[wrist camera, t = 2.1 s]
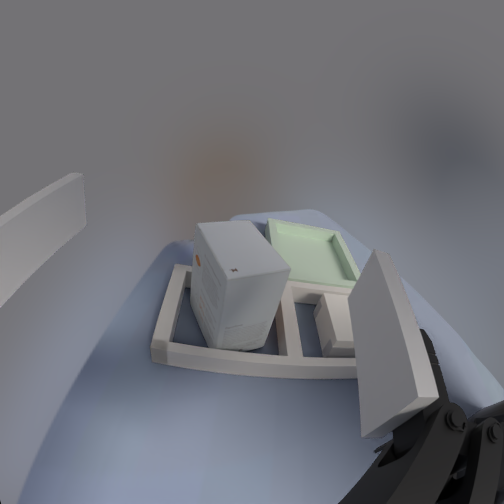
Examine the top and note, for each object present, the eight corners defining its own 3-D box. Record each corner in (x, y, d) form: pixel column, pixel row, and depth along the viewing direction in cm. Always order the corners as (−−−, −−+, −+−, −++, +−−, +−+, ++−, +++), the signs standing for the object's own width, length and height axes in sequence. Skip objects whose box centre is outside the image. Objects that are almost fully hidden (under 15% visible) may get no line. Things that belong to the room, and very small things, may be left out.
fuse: (345, 315, 33) (356, 296, 32) (359, 360, 28) (374, 342, 26) (312, 312, 33) (322, 292, 31) (323, 360, 27) (336, 341, 25)
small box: (263, 348, 27) (294, 269, 21) (212, 361, 25) (227, 280, 19) (233, 295, 33) (250, 218, 27) (188, 303, 30) (195, 221, 24)
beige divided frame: (366, 304, 36) (375, 289, 34) (393, 375, 26) (407, 362, 24) (174, 279, 33) (175, 261, 31) (152, 362, 23) (149, 345, 21)
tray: (334, 243, 49) (338, 231, 47) (359, 301, 36) (367, 288, 35) (264, 230, 47) (267, 218, 46) (270, 291, 35) (275, 276, 33)
